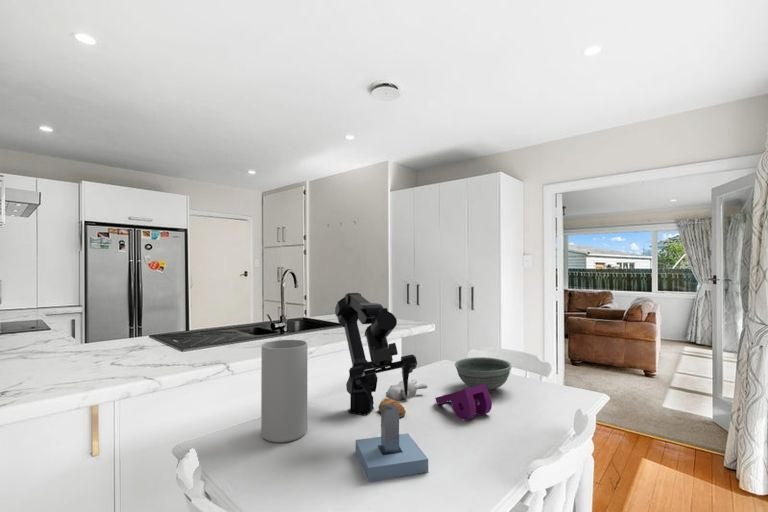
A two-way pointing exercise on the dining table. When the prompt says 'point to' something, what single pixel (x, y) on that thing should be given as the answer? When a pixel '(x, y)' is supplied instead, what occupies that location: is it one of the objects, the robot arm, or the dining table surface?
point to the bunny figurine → (398, 390)
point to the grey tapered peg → (389, 429)
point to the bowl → (483, 372)
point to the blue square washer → (390, 458)
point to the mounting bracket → (469, 401)
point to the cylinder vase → (284, 390)
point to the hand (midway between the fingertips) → (389, 399)
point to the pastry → (389, 401)
